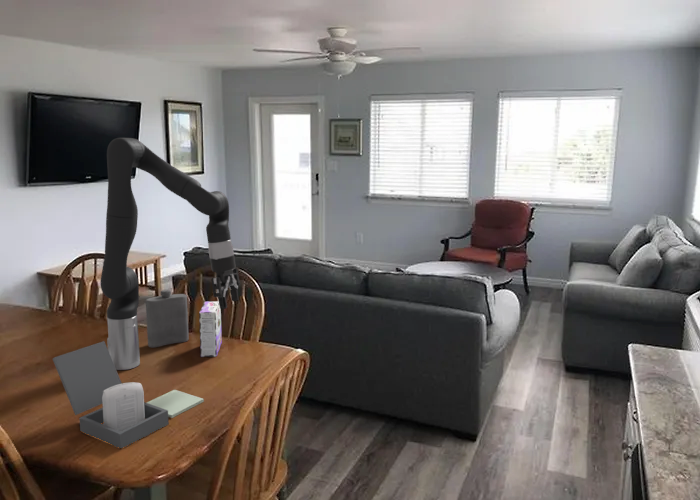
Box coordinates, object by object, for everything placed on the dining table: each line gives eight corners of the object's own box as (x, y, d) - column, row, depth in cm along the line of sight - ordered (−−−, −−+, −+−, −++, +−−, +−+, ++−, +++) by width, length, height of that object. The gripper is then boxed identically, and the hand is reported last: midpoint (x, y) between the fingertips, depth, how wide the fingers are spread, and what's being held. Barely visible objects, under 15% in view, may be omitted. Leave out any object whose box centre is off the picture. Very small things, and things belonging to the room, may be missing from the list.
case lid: (77, 414, 150) (74, 415, 151) (125, 393, 163) (122, 394, 164) (54, 357, 152) (51, 359, 153) (104, 340, 164) (101, 342, 165)
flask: (185, 336, 224) (183, 286, 220) (190, 341, 219) (188, 289, 215) (145, 344, 215) (142, 291, 212) (150, 348, 211) (147, 295, 207)
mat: (142, 407, 165) (142, 404, 165) (174, 392, 175) (174, 389, 175) (172, 417, 159) (171, 415, 159) (203, 401, 169) (203, 398, 169)
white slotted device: (143, 420, 158) (140, 377, 155) (147, 426, 154) (144, 382, 152) (102, 430, 152) (99, 385, 150) (106, 437, 149) (102, 391, 146)
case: (80, 432, 151) (79, 417, 150) (128, 409, 163) (127, 396, 163) (121, 449, 143) (120, 434, 142) (168, 424, 155) (167, 410, 155)
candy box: (206, 343, 217) (204, 300, 214) (222, 343, 217) (220, 300, 214) (200, 357, 203) (198, 311, 200) (217, 356, 204) (215, 311, 201)
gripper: (221, 251, 191) (228, 298, 194) (200, 260, 177) (208, 311, 180) (242, 249, 189) (249, 297, 192) (222, 259, 175) (230, 310, 178)
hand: (229, 304), depth 186 cm, fingers open, 8 cm apart
